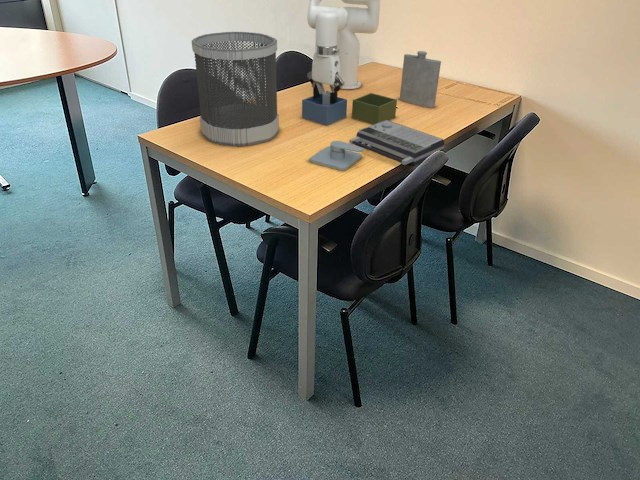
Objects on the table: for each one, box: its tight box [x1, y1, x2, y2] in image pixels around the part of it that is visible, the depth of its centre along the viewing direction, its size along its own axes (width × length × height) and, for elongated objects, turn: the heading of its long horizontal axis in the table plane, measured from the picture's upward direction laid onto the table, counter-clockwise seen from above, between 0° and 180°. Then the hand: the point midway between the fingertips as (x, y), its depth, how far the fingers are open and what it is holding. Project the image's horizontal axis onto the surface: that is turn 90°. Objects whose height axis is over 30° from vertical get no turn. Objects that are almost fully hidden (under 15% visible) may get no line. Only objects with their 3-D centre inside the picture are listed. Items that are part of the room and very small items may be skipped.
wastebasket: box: [191, 31, 280, 147], centre depth 173 cm, size 25×25×30 cm
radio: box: [348, 120, 446, 167], centre depth 169 cm, size 24×5×20 cm
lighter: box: [316, 82, 334, 106], centre depth 190 cm, size 7×2×8 cm, turn 51°
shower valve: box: [309, 140, 365, 171], centre depth 161 cm, size 12×6×15 cm
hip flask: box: [399, 50, 442, 109], centre depth 206 cm, size 16×4×20 cm, turn 49°
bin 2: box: [351, 92, 398, 125], centre depth 194 cm, size 12×12×7 cm
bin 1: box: [301, 94, 348, 127], centre depth 192 cm, size 12×12×7 cm
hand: (324, 100), depth 191 cm, fingers closed on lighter, 7 cm apart
